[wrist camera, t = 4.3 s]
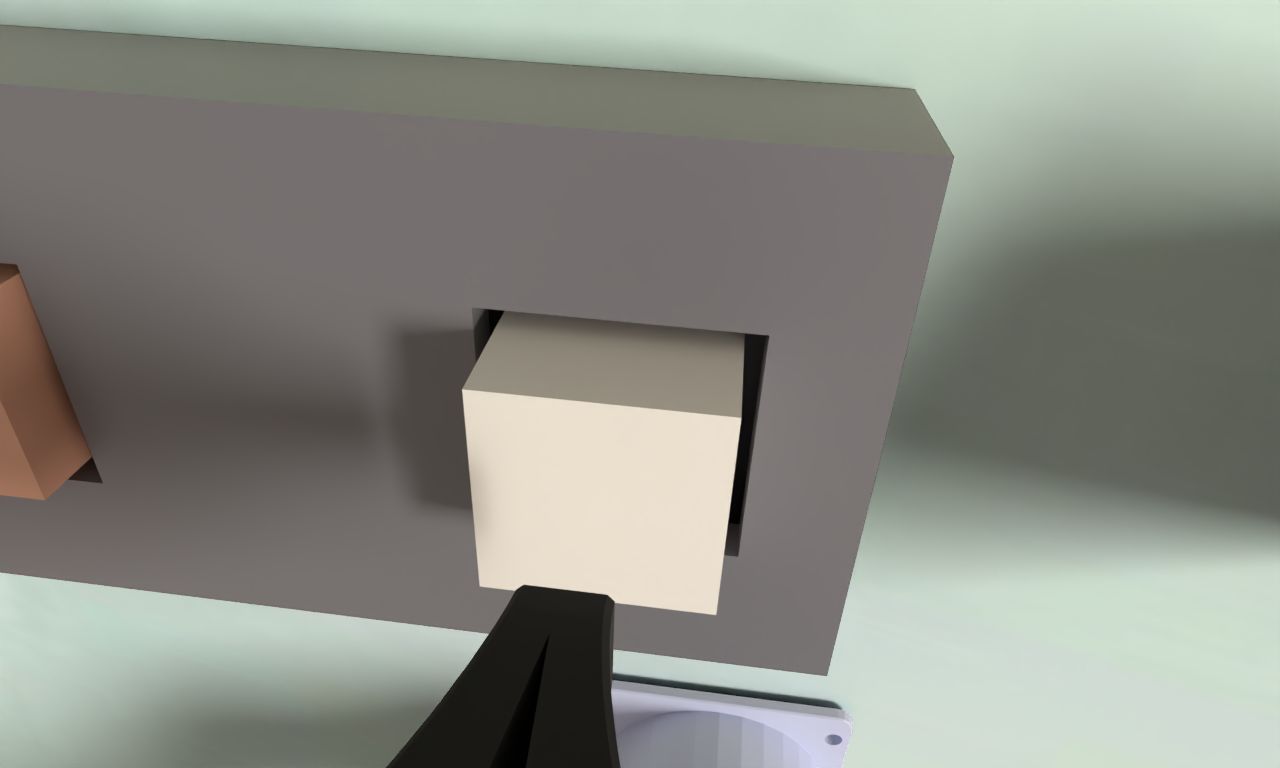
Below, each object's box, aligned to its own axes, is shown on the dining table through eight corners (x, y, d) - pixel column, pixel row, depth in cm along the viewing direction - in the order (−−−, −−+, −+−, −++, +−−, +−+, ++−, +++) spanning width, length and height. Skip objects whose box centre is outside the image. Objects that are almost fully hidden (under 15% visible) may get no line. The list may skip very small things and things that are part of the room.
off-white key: (722, 508, 18) (716, 614, 16) (517, 485, 19) (479, 586, 16) (744, 326, 16) (741, 418, 13) (508, 303, 16) (462, 389, 14)
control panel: (817, 551, 23) (826, 675, 19) (-22, 456, 25) (-145, 554, 21) (915, 89, 16) (954, 156, 13) (-241, 8, 18) (-467, 48, 15)
